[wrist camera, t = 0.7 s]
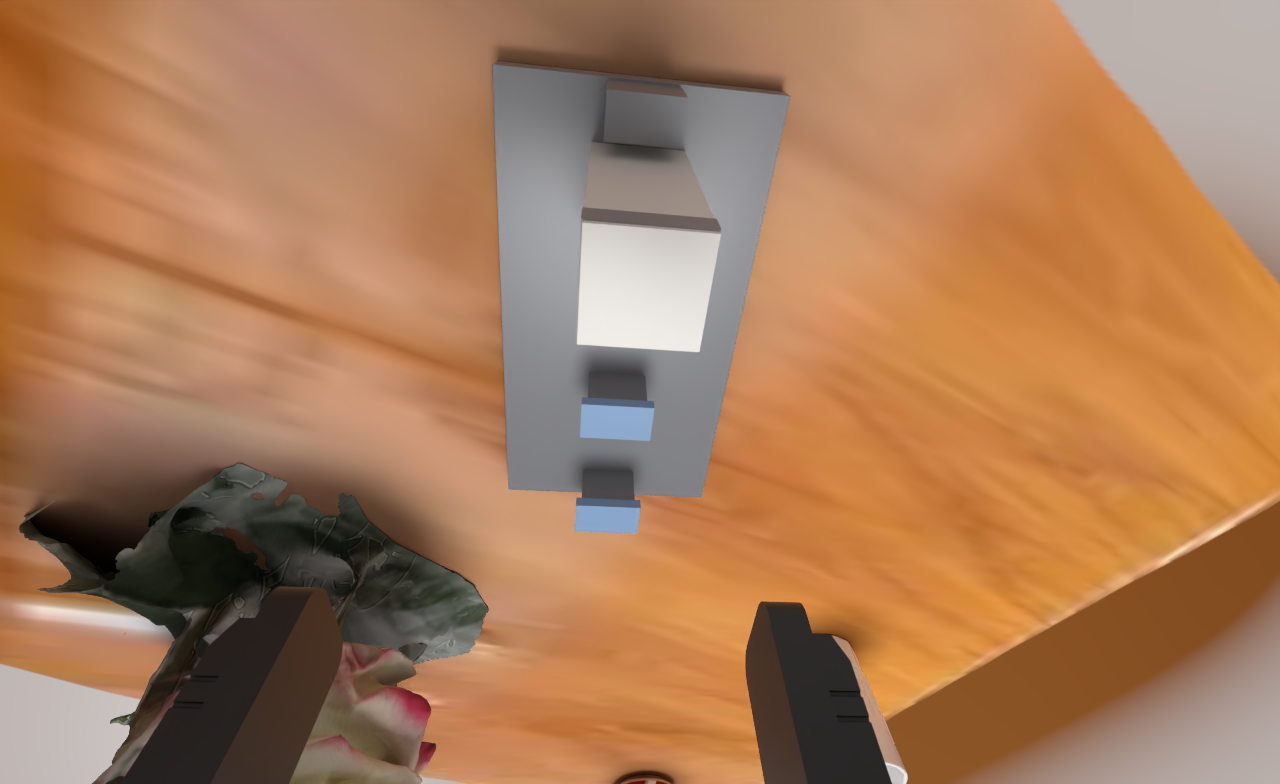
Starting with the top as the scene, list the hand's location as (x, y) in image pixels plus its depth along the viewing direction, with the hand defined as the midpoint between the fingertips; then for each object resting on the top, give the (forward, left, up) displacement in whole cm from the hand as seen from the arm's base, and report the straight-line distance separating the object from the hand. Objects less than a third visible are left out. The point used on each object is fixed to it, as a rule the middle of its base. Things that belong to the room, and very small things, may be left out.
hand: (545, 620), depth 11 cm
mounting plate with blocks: (+5, +2, -21) cm, 22 cm away
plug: (-2, +2, -20) cm, 20 cm away
